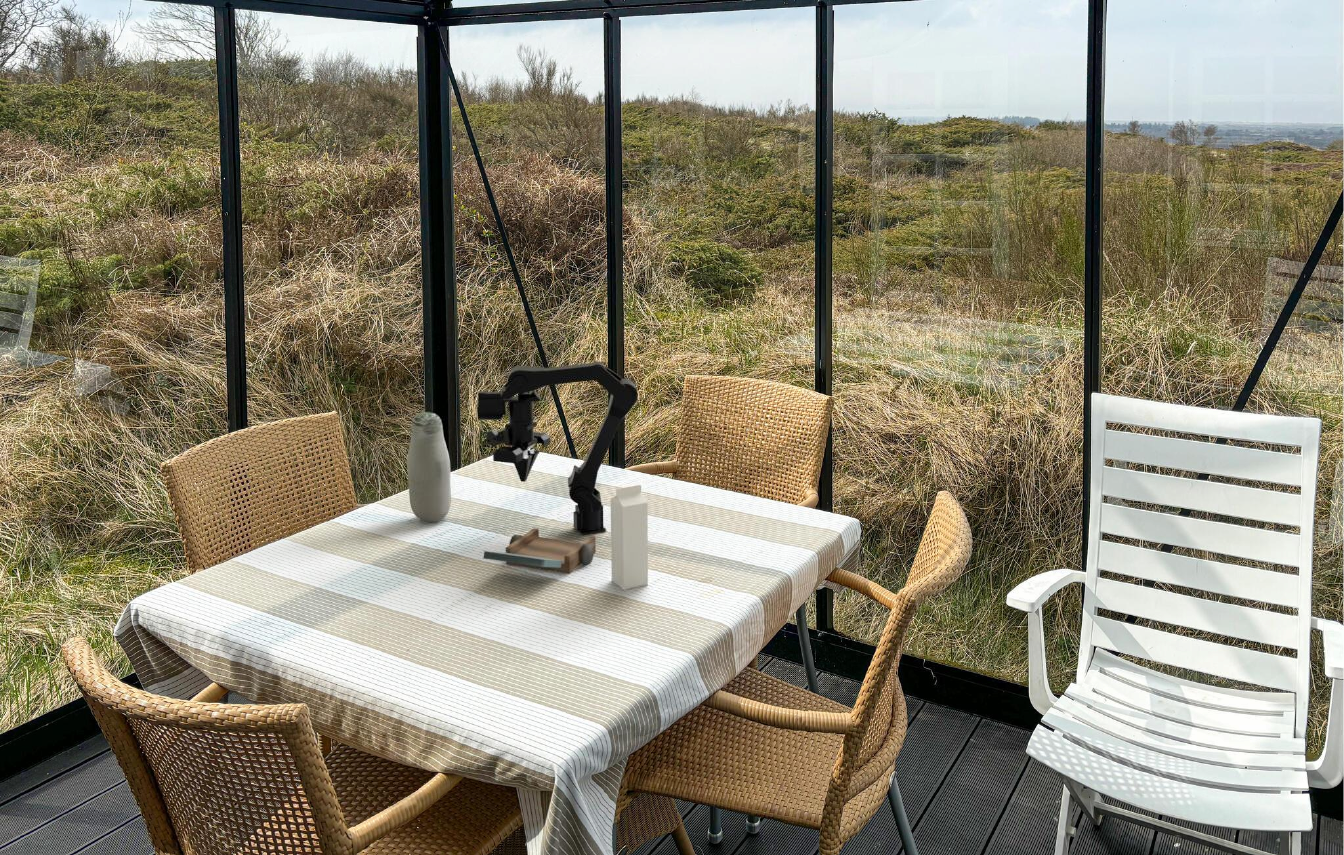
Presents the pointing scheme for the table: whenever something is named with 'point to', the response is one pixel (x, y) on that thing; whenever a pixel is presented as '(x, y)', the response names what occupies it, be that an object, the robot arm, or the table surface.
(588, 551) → the trailer
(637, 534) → the milk
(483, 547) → the table surface
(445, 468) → the grey bottle
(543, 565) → the panel
